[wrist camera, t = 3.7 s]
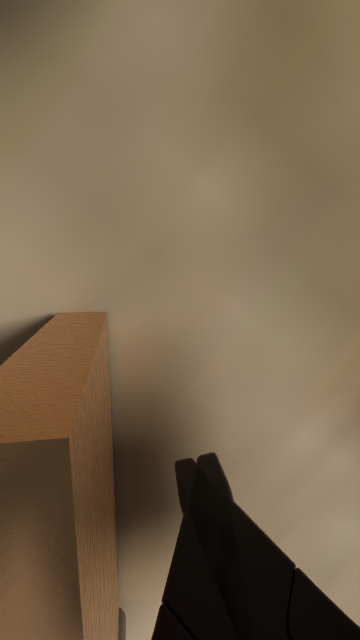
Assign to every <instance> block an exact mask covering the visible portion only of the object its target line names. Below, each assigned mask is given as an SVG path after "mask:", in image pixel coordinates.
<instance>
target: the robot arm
mask: <svg viewBox="0 0 360 640" xmlns="http://www.w3.org/2000/svg"><path fill="white" fill-rule="evenodd" d="M175 473H176V480H177V488H178V495H179V501H180V506H181V510H182V515H183V518H182V522H181V526H180V530H179V534H178V538H177V542H176V546H175V550H174V554H173V558H172V562H171V566H170V570H169V574H168V578H167V581H166V585H165V589H164V593H163V597H162V605H161V606H160V608H159V612H158V616H157V620H156V624H155V628H154V632H153V636H152V639H151V640H360V627H359V626H358V625H357V624H356V623H354V622H353V621H352V620H351V619H350V618H349V617H348V616H347V615H346V614H345V613H344V612H343V611H342V610H341V609H340V608H339V607H338V606H337V605H336V604H335V603H333V602H332V601H331V600H330V599H329V598H328V597H327V596H326V595H325V594H324V593H323V592H322V591H321V590H320V589H319V588H318V587H317V586H316V585H315V584H314V583H313V582H312V581H311V580H310V579H309V578H308V577H307V576H306V575H305V573H304V572H303V571H302V570H301V569H300V568H296V565H295V564H294V562H293V561H292V560H291V559H290V558H289V557H288V556H287V555H286V554H285V553H284V552H283V551H282V550H281V549H280V548H279V547H278V546H277V545H276V544H275V543H274V542H273V541H272V540H271V539H270V538H269V537H268V536H267V535H266V534H265V533H264V532H263V531H262V530H261V529H260V528H259V527H258V525H257V524H256V523H255V522H254V521H253V520H252V519H251V518H250V517H249V516H248V515H247V514H246V513H245V512H244V511H243V510H242V509H241V508H240V507H239V506H238V505H237V504H236V503H235V502H234V500H233V495H232V491H231V488H230V486H229V483H228V481H227V478H226V476H225V474H224V471H223V469H222V467H221V464H220V462H219V459H218V457H217V455H216V454H215V453H214V452H212V453H208V454H204V455H200V456H199V457H198V459H197V463H196V462H195V461H194V460H193V459H192V458H187V459H182V460H178V461H176V462H175Z"/></svg>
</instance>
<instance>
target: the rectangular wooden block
mask: <svg viewBox="0 0 360 640" xmlns="http://www.w3.org/2000/svg"><path fill="white" fill-rule="evenodd" d="M0 640H126V617H125V613H124V612H123V610H122V609H121V608H120V607H119V595H118V570H117V544H116V518H115V493H114V467H113V442H112V416H111V391H110V365H109V340H108V314H107V312H80V313H57V314H56V315H55V316H54V317H53V318H52V319H51V320H50V321H49V322H48V323H46V324H45V325H44V326H43V327H42V328H41V329H40V330H39V331H38V332H37V333H36V334H34V335H33V336H32V337H31V338H30V339H29V340H28V341H27V342H26V343H25V344H24V345H22V346H21V347H20V348H19V349H18V350H17V351H16V352H15V353H14V354H13V355H11V356H10V357H9V358H8V359H7V360H6V361H5V362H4V363H3V364H2V365H1V366H0Z"/></svg>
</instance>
